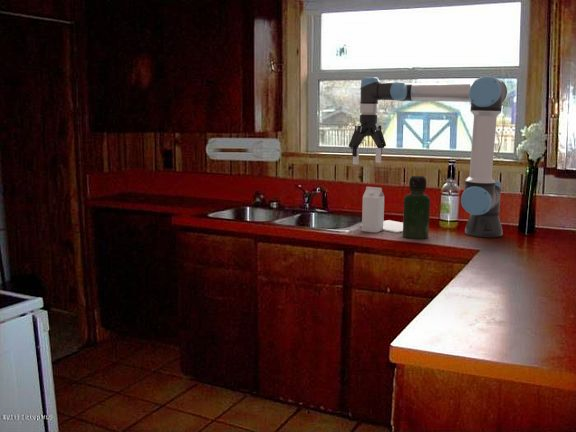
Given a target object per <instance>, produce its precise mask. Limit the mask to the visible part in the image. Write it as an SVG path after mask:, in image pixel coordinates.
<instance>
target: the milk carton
mask: <svg viewBox="0 0 576 432" xmlns="http://www.w3.org/2000/svg"><path fill="white" fill-rule="evenodd" d="M361 208H362V209H361V210H362V211H361V213H362V214H361V215H362V216H361V224H362V226H361V231H362V232H366V233H367V232H369V233H379V232H381V231H384V230H383V223H384V221H385V220H384V217H385V213H384V212H385V195H384V192H383V187H377V186H375V187H374V186H365V191H364V193H363V195H362V207H361Z"/></svg>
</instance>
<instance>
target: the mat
mask: <svg viewBox="0 0 576 432" xmlns="http://www.w3.org/2000/svg"><path fill="white" fill-rule="evenodd" d="M359 226H360V227H362V223H361V224H359ZM382 231H385V232H389V233H394V234H399V233H400V232H401V233H403V221H401V222H400V221H395V220H391V219H388V220H384V223H383V230H382ZM401 233H400V234H401Z"/></svg>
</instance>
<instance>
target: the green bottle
mask: <svg viewBox="0 0 576 432" xmlns="http://www.w3.org/2000/svg"><path fill="white" fill-rule="evenodd" d="M408 182H409V186H408V187H409V191H410V192H411V193H407V194H406V195H405V196H404V198H403V217H402V220H403V221H402V223H403V232H402V236H403V237H404V238H408V239H413V240H421V239H426V238H427V239H428V238H429V231H430V228H429V227H430V213H431V212H430V209H431V208H430V207H431V199H430V196H429V195H428V194H425V193H424V192H425V191H426V189H427V179H426V177H425V176H424V175H423V176H422V175H412V176H411V177H410V178H409V180H408Z"/></svg>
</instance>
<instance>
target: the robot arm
mask: <svg viewBox="0 0 576 432" xmlns="http://www.w3.org/2000/svg"><path fill="white" fill-rule="evenodd" d="M360 80H361V83H360V88H359V89H360V99H359V101H360V103H359V104H360V105H359V113H360V115H359V123H360V125H359V124H358V125H355V126H354V130H353V133H352V136H351V139H350V142H349V143H348V147H349V148H350V149H352V154H351V155H352V164H353V165H359V164H360V162H359V161H360V160H359V159H360V149H359V147H360V145H361V143H362V142H363V140H364V139H365V137H371V139H372V140H373V142H374V144H375V146H376V148H375V160H374V161H375V164H381V163H382V155H383V149H384V148H385V147H386V146H387V143H386V140H385V137H384V134H383V131H382V125H380V124H379V125H377V123H378V113H379V111H378V109H379V101H400V102H461V103H462V102H463V103H464V102H465V103H468V102H470V111H469V112H470V113H471V115H472V116H473V125H472V126H473V127H472V136H471V137H472V138H471V151H470V163H469V176H468V177H466V178H465V179H464V190H463V192H462V194H461V197H460V203H461V206H462V208H463V210H464V211H466V213H468V214H470V215H469V218H468V220H467V222H466V225H465V228H464V233H465V234H466V235H468V236H472V237H478V238H499V237H502V236H503V231H504V230H503V227H502V223H501V219H500V208H501V207H500V206H501V194H502V193H501V192H502V183H501V182H500V180H495V179H494V178H493V176H492V175H493V166H494V156H495V155H494V153H495V143H496V142H495V141H496V131H497V130H496V129H497V117H498V116H499V115H500V114H501V113H502V105H503V102H505V100H506V99H507V95H508V88H507V86H506V83H505V82H504V81H503V80H501V79H500V78H498V77H495V76H491V75H484V76H481V77H478V78H476V79H475V80H474V81H473V82H470V83H469V82H464V83H463V82H461V83H459V82H458V83H457V82H453V83H452V82H442V83H439V82H438V83H436V82H434V83H432V82H428V83H427V82H426V83H425V82H424V83H422V82H420V83H418V82H417V83H416V82H415V83H414V82H413V83H411V82H410V83H409V82H406V83H405V82H404V81H380V80H379V77H375V76H374V77H373V76H371V77H370V76H369V77H368V76H366V77H363V78H361V79H360Z"/></svg>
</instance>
